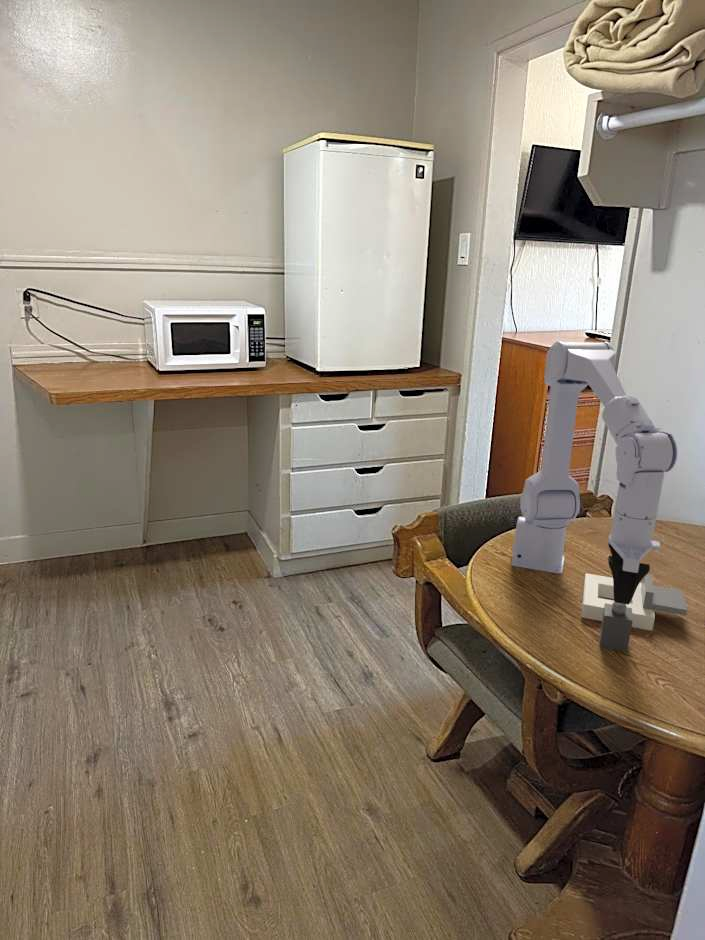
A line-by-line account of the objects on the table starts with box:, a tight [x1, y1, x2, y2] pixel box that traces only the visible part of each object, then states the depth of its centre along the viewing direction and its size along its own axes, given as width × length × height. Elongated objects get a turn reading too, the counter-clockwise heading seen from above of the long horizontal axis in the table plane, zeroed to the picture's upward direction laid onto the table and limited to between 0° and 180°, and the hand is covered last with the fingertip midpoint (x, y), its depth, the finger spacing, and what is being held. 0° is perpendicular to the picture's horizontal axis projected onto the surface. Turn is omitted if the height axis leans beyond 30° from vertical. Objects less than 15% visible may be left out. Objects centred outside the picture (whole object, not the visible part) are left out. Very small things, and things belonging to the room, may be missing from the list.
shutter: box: [641, 573, 688, 616], centre depth 113 cm, size 6×7×3 cm
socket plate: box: [581, 572, 656, 632], centre depth 116 cm, size 11×12×2 cm
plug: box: [599, 602, 633, 653], centre depth 104 cm, size 4×4×7 cm
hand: (621, 594), depth 103 cm, fingers open, 4 cm apart
